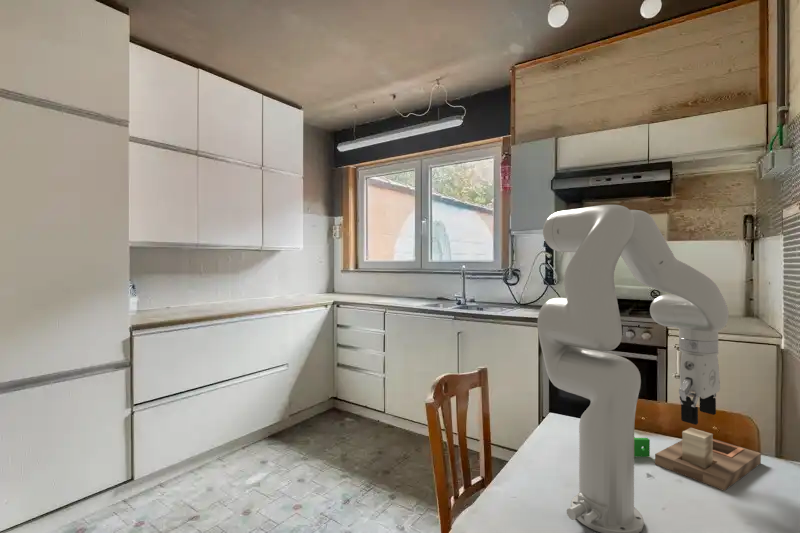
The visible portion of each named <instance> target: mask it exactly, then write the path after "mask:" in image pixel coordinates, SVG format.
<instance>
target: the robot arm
mask: <svg viewBox="0 0 800 533" xmlns="http://www.w3.org/2000/svg"><path fill="white" fill-rule="evenodd" d="M542 235H543V239H544V242H545V243H546V245H548V247H549V248H550V249H552V250H553V251H556V252H558V253H574V255H573V256H572V258H571V260H570V261H569V263H568V265H567V266H566V269H565V272H564V277H563V284H564V290H565V297H554V298H550V299H548V300H547V301H546V302H544V303H543V304H542V306H541V308H540V310H539V313H538V315H537V316H538V317H537V332H538V338H539V343H540V347H541V351H542V352H541V353H542V357H543V361H544V366H545V370H546V374H547V376H548V379H549V380H550V382H551V383H552V385H553V386H554V387H555V388H557V389H559V390H561V391H564V392H566V393H570V394H573V395H575V396H579V397H582V398H584V399H587V400H589V401H590V403H589V406H588V407H587V408H586V410H584V412H583V413H582V414H581V416H580V419H579V426H578V429H579V430H578V431H579V432H578V433H579V435H578V437H579V439H578V440H579V442H578V443H579V444H578V445H579V448H578V449H579V450H578V452H579V454H578V455H579V457H578V459H579V461H578V462H579V465H578V466H579V469H578V471H579V472H578V473H579V476H578V477H579V478H578V479H579V482H578V483H579V484H578V486H579V487H578V493H577V495H575V496H574V497H573V498H571V500H570V506H569V507H568V508H567V509H566V515H567V517H568V518H569V519H570V520H573V521H575V520H577V521H579V522H580V523H581V524H582V525H584V527H585V526H586V527H587V528H589V529H590V530H593V531H596V532H598V533H640V532H642V530H643V529H644V525H645V524H644V518H643V515H642V513H641V512H640V511H639V510H638V509H637V508H636V507H635V457H634V437H635V420H636V411H637V403H638V399H639V395H640V394H639V393H640V391H641V384H642V379H641V378H642V377H641V373H640V371H639V368H638V367H637V366H636V365H635V363H633V362H632V361H631V360H630V359H627V358H626V357H623V356H621V355H618V354H614V353H611V352H610V351H612V350H615V349H616V348H618V346H619V345H620V344H621V341H622V338H623V329H622V328H623V327H622V320H621V313H620V309H619V304H618V303H619V302H618V297H617V292H616V287H615V286H616V285H615V270H616V266H617V263H618V261H619V259H620V257H621V258H622V260H623V261H624V263H625V264H626V266H627V267H628V269H629V271H630V272H631V274H632V276H633V277H634V279H635V280H636V281H638V283H641V284H643V285H645V286H648V287H650V288H652V289H656V290H657V291H661V292H664V293H668V294H662V295H658V296H657V297H656V298H654V299H653V300H652V302H651V303H650V307H649V313H650V314H649V315H650V316H651V319H652V320H653V322H655V323H656V324H658V325H661V326H663V327H668V328H675V329H678V347H679V348H678V351H679V352H680V353H681V357H680V367H679V369H680V370H679V388H678V394H679V400H680V410H681V411H680V415H681V416H680V417H681V418H680V419H681V421H682V422H684V423H686V424H687V423H689V424H692V425H694V426H696V425H698V424H699V411H700V412H701V413H703V414H709V415H712V416H715V415H716V414H717V398H716V397H717V393H718V392H720V390H721V382H720V378H721V377H720V366H719V358H718V355H719V331H721V330H723V329H724V328H725V327H726V326H727V324H728V322H729V308H728V305H727V303H726V300H725V298H724V296H723V294H722V292H721V290H720V288H719V287H718V285H717V284H716V283H715V282H714V281H713V279H711V278H710V277H709V276H707V275H706V274H704V273H703V272H701V271H699V270H698V269H696V268H694V267H693V266H690V265H689V264H687V263H685V262H683V261H681V260H679V259H677V257H675V255H674V253H673V251H672V250H671V248H670V247H669V245H668V243H667V241H666V239H665V237H664V236H663V234H662V232H661V230H660V228H659V227H658V225H657V223H656V221H655V219H654V218H653V217H652V215H650V214H649V213H648V212H646V211H644V210H638V209H629V208H628V207H626V206H624V205H619V204H601V205H594V206H586V207H580V208H571V209H565V210H564V209H563V210H559V211H555V212H554V213H552V214H550V215H549V216H548V217H547V218H546V220H545V221H544V223H543V227H542ZM607 351H609V352H607ZM698 401H699V407H698V406H697V403H698Z"/></svg>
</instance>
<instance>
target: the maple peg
mask: <svg viewBox="0 0 800 533" xmlns="http://www.w3.org/2000/svg"><path fill="white" fill-rule="evenodd" d="M681 435H682V438H681V440H682V460H683V461H686V462H689V463H692V464H694V465H697V466H700V467H703V468H706V469H707V468H709V467H710V466H712V465H713V439H714V438H713V436H714V434H713V433H711V432H707V431H705V430H700V429H696V428H693V427H689V428H687V429H685V430H682V432H681Z"/></svg>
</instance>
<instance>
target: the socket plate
mask: <svg viewBox="0 0 800 533" xmlns="http://www.w3.org/2000/svg"><path fill="white" fill-rule="evenodd" d="M654 455H655V456H654V459H655V460H654V461H655V462H654V464H655V465H656V466H659V467H660V468H661V467H662V468H664V469H667V470H669V471H672V472H675V473H677V474H680V475H683V476H685V477H688V478H690V479H693V480H696V481H698V482H701V483H703V484H706V485H709V486H711V487H714V488H717V489H719V490H722V491H726V490H727V489H729V488H730V487H731V486H733V485H734V484H736V483H737V482H738V481H740V480H741V479H742V478H744V477H745V476H746V475H747V474H749V473H750V472H751V471H753V470H754V469H755V468H757V467H758V466H759V465H761V464H760V463H762V461H761V460H762V453H761V452H758V451H755V450H751V449H749V448H745V447H741V446H738V445H735V444H732V443H728V442H725V441H722V440H719V439H714V438H713V465H712V466H710V467H709V468H707V469H706V468H703V467H700V466H697V465H694V464H692V463H689V462H686V461H683V460H682V439H681V440H679V441H678V442H676V443H673V444H671V445H670V446H668V447H666V448H664V449H662V450H660V451H658V452H656V453H655V454H654ZM757 465H758V466H757ZM756 466H757V467H756ZM752 469H753V470H752Z"/></svg>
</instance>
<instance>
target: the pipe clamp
mask: <svg viewBox="0 0 800 533" xmlns="http://www.w3.org/2000/svg"><path fill="white" fill-rule="evenodd" d="M650 441H651V440H650V439H649V438H648V437H635V436H634V458H636V457H638V458H642V457H643V458H645V457H648V458H650V450H651V448H650V447H651V445H650V444H651V442H650Z"/></svg>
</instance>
